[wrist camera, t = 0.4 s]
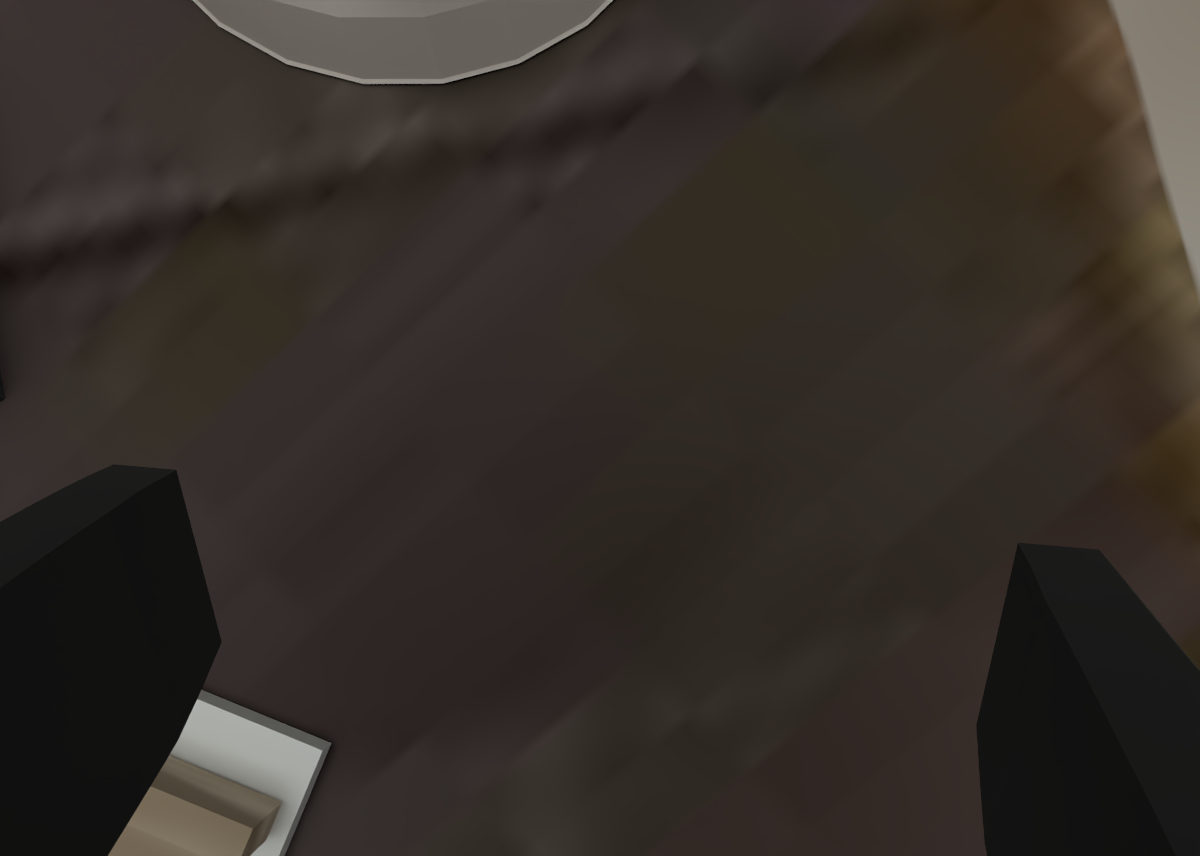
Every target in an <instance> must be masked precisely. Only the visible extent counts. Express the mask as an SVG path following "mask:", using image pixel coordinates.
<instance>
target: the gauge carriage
mask: <svg viewBox="0 0 1200 856" xmlns="http://www.w3.org/2000/svg"><path fill="white" fill-rule="evenodd" d="M281 804H282V802H280V801H278V800H275V799H273V798H270V797H268V796H266V795H263V794H261V793H258V792H256V791H253V790H251V789H249V788H246V787H244V786H241V785H239V784H236V783H234V782H232V781H229V780H227V779H224V778H222V777H220V776H217V775H215V774H212V773H210V772H207V771H205V770H203V769H200V768H198V767H195V766H193V765H191V764H188V763H186V762H183V761H181V760H178V759H176V758H174V757H171V756H169V757H168V758H167V760H166V762H165V763H164V765H163V767H162V768H161V770H160V772H159V773H158V775H157V777H156V778H155V780H154V782H153V783H152V785H151V787H150V788H149V790H148V791H147V793H146V795H145V796H144V798H143V800H142V801H141V803H140V805H139V806H138V808H137V810H136V811H135V813H134V814H133V816H132V818H131V819H130V821H129V823H128V824H127V826H126V827H125V829H124V831H123V832H122V834H121V835H120V837H119V839H118V840H117V842H116V843H115V845H114V847H113V848H112V850H111V852H110V853H109V855H108V856H250V855H251V854H252V853H253V852H254V851H256V850H257V849H258V848H259V847H260V846H261V845H262V844H263V843H264V842H265V841H266V840H267V837H268V835H269V832H270V830H271V828H272V825H273V823H274V820H275V818H276V816H277V813H278V811H279V808H280V806H281Z"/></svg>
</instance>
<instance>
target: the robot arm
mask: <svg viewBox="0 0 1200 856" xmlns="http://www.w3.org/2000/svg"><path fill="white" fill-rule="evenodd" d="M220 644H221V638H220V634H219V630H218V627H217V623H216V619H215V615H214V611H213V608H212V604H211V600H210V596H209V592H208V589H207V585H206V581H205V577H204V573H203V570H202V566H201V562H200V558H199V555H198V551H197V547H196V543H195V539H194V536H193V532H192V528H191V524H190V520H189V517H188V513H187V509H186V505H185V501H184V498H183V494H182V490H181V486H180V482H179V479H178V475H177V471H176V470H170V469H159V468H147V467H136V466H124V465H112V466H109V467H107V468H105V469H103V470H100V471H98V472H96V473H94V474H91V475H89V476H87V477H85V478H83V479H81V480H79V481H77V482H75V483H73V484H71V485H69V486H67V487H65V488H63V489H61V490H59V491H57V492H55V493H53V494H51V495H49V496H48V497H46V498H44V499H42V500H40V501H38V502H36V503H34V504H33V505H31V506H29V507H27V508H25V509H23V510H21V511H20V512H18V513H16V514H14V515H12V516H10V517H9V518H7V519H5V520H3V521H1V522H0V856H108V855H109V853H110V852H111V850H112V848H113V847H114V845H115V843H116V842H117V840H118V839H119V837H120V835H121V834H122V832H123V831H124V829H125V827H126V826H127V824H128V823H129V821H130V819H131V818H132V816H133V814H134V813H135V811H136V810H137V808H138V806H139V805H140V803H141V801H142V800H143V798H144V796H145V795H146V793H147V791H148V790H149V788H150V787H151V785H152V783H153V782H154V780H155V778H156V777H157V775H158V773H159V772H160V770H161V768H162V767H163V765H164V763H165V762H166V760H167V758H168V757H169V755H170V753H171V752H172V750H173V748H174V746H175V745H176V743H177V741H178V739H179V737H180V735H181V733H182V731H183V729H184V726H185V724H186V722H187V720H188V718H189V716H190V714H191V711H192V709H193V707H194V705H195V703H196V701H197V699H198V696H199V694H200V692H201V689H202V687H203V685H204V682H205V680H206V677H207V675H208V673H209V670H210V668H211V666H212V663H213V661H214V658H215V656H216V654H217V651H218V649H219V647H220ZM977 740H978V756H979V772H980V788H981V800H982V813H983V825H984V838H985V845H986V851H987V856H1200V671H1199V669H1198V668H1197V667H1196V666H1195V665H1194V663H1193V662H1192V661H1191V660H1190V659H1189V657H1188V656H1187V655H1186V654H1185V653H1184V651H1183V650H1182V649H1181V648H1180V647H1179V645H1178V644H1177V643H1176V642H1175V641H1174V640H1173V638H1172V637H1171V636H1170V635H1169V633H1168V632H1167V631H1166V630H1165V629H1164V627H1163V626H1162V625H1161V624H1160V623H1159V621H1158V620H1157V619H1156V618H1155V617H1154V615H1153V614H1152V613H1151V612H1150V610H1149V609H1148V608H1147V607H1146V606H1145V604H1144V603H1143V602H1142V601H1141V599H1140V598H1139V597H1138V596H1137V595H1136V593H1135V592H1134V591H1133V590H1132V589H1131V587H1130V586H1129V585H1128V584H1127V583H1126V581H1125V580H1124V579H1123V578H1122V577H1121V575H1120V574H1119V573H1118V572H1117V571H1116V569H1115V568H1114V567H1113V566H1112V565H1111V563H1110V562H1109V561H1108V560H1107V559H1106V558H1105V556H1104V555H1103V554H1102V553H1101V552H1100V550H1095V549H1083V548H1072V547H1060V546H1049V545H1037V544H1025V543H1018V546H1017V550H1016V555H1015V559H1014V563H1013V568H1012V572H1011V576H1010V581H1009V585H1008V590H1007V594H1006V598H1005V603H1004V607H1003V611H1002V616H1001V620H1000V625H999V629H998V633H997V638H996V642H995V647H994V651H993V655H992V660H991V664H990V668H989V673H988V677H987V682H986V686H985V690H984V695H983V699H982V704H981V708H980V712H979V717H978V721H977Z"/></svg>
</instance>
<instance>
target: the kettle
mask: <svg viewBox="0 0 1200 856" xmlns="http://www.w3.org/2000/svg"><path fill="white" fill-rule="evenodd" d="M193 1H194V2H195V3H196V4H197V5H198V6H199V7H200V8H201V9H202V10H203V11H204V12H205V13H206V14H207V15H208V16H209V17H210V18H211V19H212V20H213V21H214V22H215V23H216V24H217V25H218V26H219V27H221V28H223V29H225V30H227V31H228V32H230V33H232V34H234V35H235V36H237V37H239V38H241V39H243V40H244V41H246V42H248V43H250V44H252V45H253V46H255V47H257V48H259V49H260V50H262V51H264V52H266V53H268V54H269V55H271V56H273V57H275V58H276V59H278V60H280V61H282V62H284V63H285V64H288V65H291V66H295V67H299V68H303V69H307V70H311V71H315V72H319V73H323V74H326V75H330V76H334V77H338V78H342V79H346V80H350V81H354V82H358V83H361V84H443V83H447V82H451V81H455V80H459V79H463V78H466V77H470V76H474V75H478V74H482V73H485V72H489V71H493V70H497V69H501V68H505V67H508V66H512V65H516V64H519V63H521V62H523V61H525V60H527V59H528V58H530V57H532V56H534V55H535V54H537V53H539V52H541V51H543V50H544V49H546V48H548V47H550V46H551V45H553V44H555V43H557V42H559V41H560V40H562V39H564V38H566V37H567V36H569V35H571V34H573V33H575V32H576V31H578V30H580V29H582V28H583V27H585V26H587V25H588V24H589V23H590V22H591V21H592V20H593V19H594V18H595V17H596V16H597V15H598V14H599V13H600V12H601V11H603V10H604V9H605V8H606V7H607V6H608V5H609V4H610V3H611V2H612V1H613V0H193Z"/></svg>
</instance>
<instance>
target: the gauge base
mask: <svg viewBox="0 0 1200 856" xmlns="http://www.w3.org/2000/svg"><path fill="white" fill-rule="evenodd" d="M330 746H331V743H330V742H327V741H325V740H323V739H320V738H318V737H315V736H313V735H310V734H308V733H306V732H303V731H301V730H298V729H296V728H293V727H291V726H289V725H286V724H284V723H281V722H279V721H276V720H274V719H272V718H269V717H267V716H264V715H262V714H259V713H257V712H254V711H252V710H250V709H247V708H245V707H242V706H240V705H237V704H235V703H233V702H230V701H228V700H225V699H223V698H220V697H218V696H216V695H213V694H211V693H208V692H206V691H203V690H201V692H200V694H199V696H198V699H197V701H196V703H195V705H194V707H193V709H192V711H191V714H190V716H189V718H188V720H187V722H186V724H185V726H184V729H183V731H182V733H181V735H180V737H179V739H178V741H177V743H176V745H175V746H174V748H173V750H172V752H171V753H170V755H169V756H171V757H174V758H176V759H178V760H181V761H183V762H186V763H188V764H191V765H193V766H195V767H198V768H200V769H203V770H205V771H207V772H210V773H212V774H215V775H217V776H220V777H222V778H224V779H227V780H229V781H232V782H234V783H236V784H239V785H241V786H244V787H246V788H249V789H251V790H253V791H256V792H258V793H261V794H263V795H266V796H268V797H270V798H273V799H275V800H278V801H280V802H282V804H281V806H280V808H279V811H278V813H277V816H276V818H275V820H274V823H273V825H272V828H271V830H270V832H269V835H268V837H267V840H266V841H265V842H264V843H263V844H262V845H261V846H260V847H259V848H258V849H257V850H256V851H254V852H253V853H252V854H251V855H250V856H285V854H286V852H287V849H288V847H289V844H290V842H291V839H292V837H293V835H294V832H295V830H296V827H297V825H298V823H299V820H300V818H301V815H302V813H303V811H304V808H305V806H306V803H307V801H308V799H309V796H310V794H311V791H312V789H313V787H314V784H315V782H316V779H317V777H318V774H319V772H320V770H321V767H322V765H323V762H324V760H325V758H326V755H327V753H328V750H329V748H330Z"/></svg>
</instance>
